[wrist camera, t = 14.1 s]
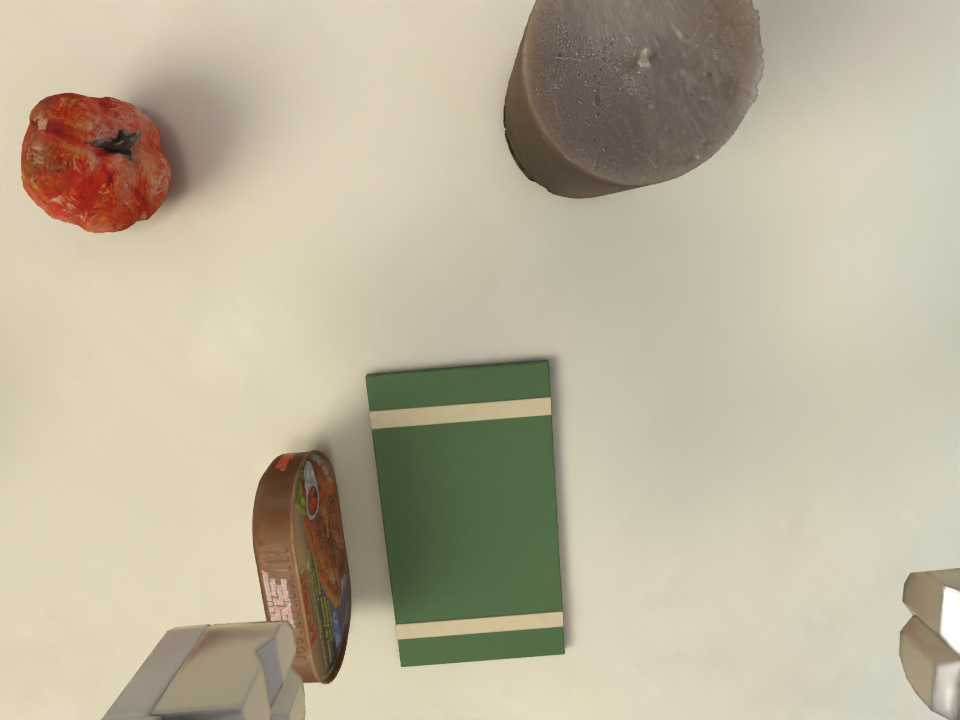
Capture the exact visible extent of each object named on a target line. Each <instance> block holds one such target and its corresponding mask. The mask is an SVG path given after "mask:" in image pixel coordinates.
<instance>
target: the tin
mask: <svg viewBox="0 0 960 720" xmlns="http://www.w3.org/2000/svg"><path fill="white" fill-rule="evenodd" d="M252 533H253V547H254V553H255V559H256V564H257V571H258V576H259V582H260V587H261V593H262V599H263V604H264V610H265V615H266V620H267V621H280V620H288V621H289V623H290V624H291V625H292V626H293V629H294V634H295V639H296V644H297V651H296V653H295V656H294V658H293V661H292V663H291V667H292V668H293V669H294V670H295V671H296V672H297V673H298V674H299V675H300V676H301V677H302V679H303V683H313V682H321V683H323V684H329V683H330V682H332V681H333V680H334V679H335V677H336V676H337V674H338V672H339V670H340V668H341V665H342V662H343V659H344V655H345V650H346V646H347V640H348V633H349V626H350V616H351V589H350V578H349V570H348V564H347V557H346V550H345V544H344V536H343V530H342V523H341V515H340V508H339V501H338V494H337V487H336V482H335V477H334V473H333V470H332V467H331V465H330V462H329V460H328V459H327V457H326V456H325V455H324V454H323V453H322V452H321V451H318V450H313V451H310V452H301V453H287V454H282V455H280V456H278V457H277V458H275V459H274V460H273V461H272V463H271V464H270V466H269V467H268V468H267V470H266V471H265V473H264V474H263V476H262V477H261V479H260V482H259V485H258V488H257V492H256V496H255V502H254V508H253V520H252Z"/></svg>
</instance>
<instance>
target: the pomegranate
mask: <svg viewBox="0 0 960 720" xmlns="http://www.w3.org/2000/svg"><path fill="white" fill-rule="evenodd" d="M21 171H22V181H23V187H24V189H25V190H26V192H27V193H28V195H29V196H30V197H31V199H32V200H33V201H34V202H35V203H36V204H37V205H38V206H39V207H40V208H42V209H44V211H45V212H46V213H47V214H48V215H49V216H51V217H52V218H53V219H58V220H61V221H63V222H68V223H72V224H75V225H78V226H80V227H82V228H83V229H84V230H85V231H88V232H94V233H104V232H116V231H121V230H124V229H127V228H128V227H130V226H132V225H133V224H134V223H135V222H136V221H141V220H148V219H149V218H150V217H151V216H152V215H153V214H154V213H155V212H156V211H157V209H158V208H159V207H160V206H161V205H162V203H163V201H164V199H165V197H166V195H167V192H168V190H169V186H170V183H171V166H170V163H169V162H168V160H167V158H166V157H165V155H164V154H163V152H162V147H161V140H160V134H159V131H158V128H157V127H156V126H155V124H154V123H153V122H152V121H151V119H150V118H149V117H148V116H147V115H146V114H145V113H144V112H142V111H141V110H139V109H138V108H136V107H135V106H133V105H132V104H130V103H127V102H123V101H120V100H118V99H115V98H111V97H103V98H95V97H86V96H83V95H79V94H75V93H63V94H59V95H53V96H49V97H46V98H45V99H43V100H41V101H40V102H39V103H38V104H37V105H36V106H35V107H34V109H33V110H32V111H31V114H30V124H29V127H28V129H27V132H26V134H25V137H24V141H23V144H22V153H21Z"/></svg>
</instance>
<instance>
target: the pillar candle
mask: <svg viewBox="0 0 960 720" xmlns="http://www.w3.org/2000/svg"><path fill="white" fill-rule="evenodd" d="M759 19H760V17H759V11H758V10H755V9H754V8H753V4H752V1H751V0H536V2H535V4H534V7H533V9H532V12H531V14H530V16H529V19H528V23H527V25H526V28H525V31H524V34H523V37H522V40H521V43H520V46H519V50H518V53H517V57H516V60H515V63H514V67H513V70H512V73H511V76H510V80H509V83H508V89H507V94H506V97H505V106H504V127H505V129H506V130H505V137H506V141H507V143H508V146H509V149H510V152H511V154H512V156H513V158H514V160H515V162H516V163H517V165H518V167H519V168H520V169H521V171H522V172H523V173H524V174H525V175H526V177H527V178H528V179H529V180H531V181H534V182H537V183H538V184H539V185H541V186H543V187H545V188H546V189H547V190H548V191H549V192H551V193H552V194H555V195H560V196H563V197H568V198H591V197H598V196H603V195H607V194H612V193H616V192H621V191H625V190H630V189H634V188H639V187H643V186H648V185H652V184H657V183H661V182H665V181H668V180H671V179H674V178H677V177H680V176H682V175H684V174H685V173H687V172H689V171H691V170H692V169H694V168H696V167H697V166H699V165H701V164H702V163H704V162H705V161H706V160H708V159H709V158H711V157H712V156H713V155H714V154H715V153H716V152H717V151H718V150H719V149H720V148H721V147H722V146H723V145H724V144H725V143H726V142H727V141H728V140H729V138H730V137H731V136H732V135H733V134H734V132H735V131H736V129H737V127H738V126H739V124H740V123H741V121H742V119H743V118H744V116H745V114H746V112H747V111H748V109H749V107H750V106H752V104H753V103H754V102H755V100H756V98H757V96H758V88H757V86H758V83H759V82H760V80H761V77H762V72H763V68H764V60H763V58H762V56H761V55H762V52H763V50H764V48H763V47H762V46H761V38H760V30H759Z"/></svg>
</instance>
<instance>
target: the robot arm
mask: <svg viewBox="0 0 960 720" xmlns="http://www.w3.org/2000/svg"><path fill="white" fill-rule="evenodd" d="M903 603H904V604H905V605H906V607H907V608H908V609H909V611H910V612H911V613H912V615H913V616H912V617H911V619H910V620H909V621H908V622H907V624H906V625H905V626H904V627H903V629H902V630H901V631H900V649H899V655H900V658H901V662H902V665H903V668H904V671H905V675H906V678H907V679H908V681H909V683H910V684H911V686H912V688H913V689H914V691H915V693H916V694H917V695H918V696H919V698H920V699H921V700H922V701H923V702H924V703H925V704H926V705H927V706H928V708H929V709H930V710H931V711H933V712H935V713H937V714H939V715H941V716H943V717H945V718H947V719H949V720H960V568H955V569H945V570H934V571H924V572H913V573H910V574H909V576H908V578H907V580H906V582H905V583H904V591H903ZM296 651H297V644H296V639H295V634H294V629H293V626H292V625H291V624H290V623H289V621H288V620H280V621H263V622H245V623H227V624H214V625H209V624H207V625H195V626H184V627H176V628H174V629H171V630H169V631H167V632H166V634H165V635H164V636H163V638H162V639H161V640H160V642H159V643H158V644H157V646H156V647H155V648H154V650H153V651H152V652H151V654H150V655H149V656H148V658H147V659H146V660H145V662H144V663H143V664H142V666H141V667H140V668H139V670H138V671H137V672H136V674H135V675H134V676H133V678H132V679H131V680H130V682H129V683H128V684H127V686H126V687H125V688H124V690H123V691H122V693H121V694H120V695H119V697H118V698H117V699H116V701H115V702H114V703H113V705H112V706H111V707H110V709H109V710H108V711H107V713H106V714H105V715H104V717H103V718H102V719H101V720H305V693H304V686H303V679H302V677H301V676H300V675H299V674H298V673H297V672H296V671H295V670H294V669H293V668H292V667H291V663H292V661H293V658H294V656H295V653H296Z"/></svg>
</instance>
